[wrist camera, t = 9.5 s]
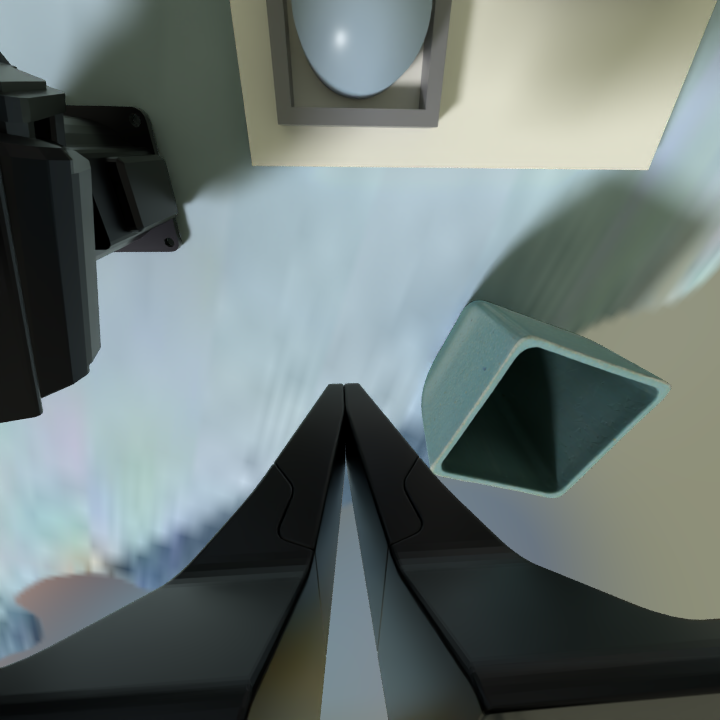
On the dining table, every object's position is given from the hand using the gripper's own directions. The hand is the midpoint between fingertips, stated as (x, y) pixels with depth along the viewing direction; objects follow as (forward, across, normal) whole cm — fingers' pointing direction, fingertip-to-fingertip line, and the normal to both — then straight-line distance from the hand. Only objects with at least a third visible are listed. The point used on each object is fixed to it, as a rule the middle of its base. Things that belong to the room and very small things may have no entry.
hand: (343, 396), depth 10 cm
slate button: (+11, -1, -10) cm, 15 cm away
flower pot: (+13, -10, +6) cm, 18 cm away
